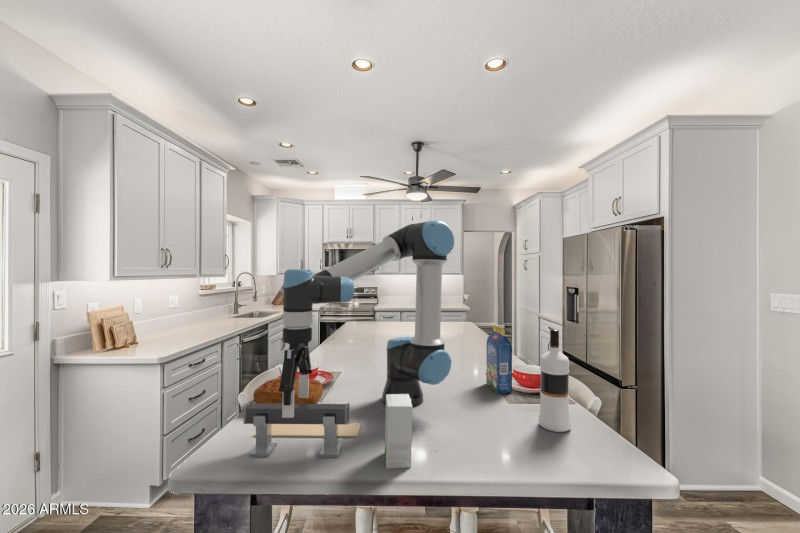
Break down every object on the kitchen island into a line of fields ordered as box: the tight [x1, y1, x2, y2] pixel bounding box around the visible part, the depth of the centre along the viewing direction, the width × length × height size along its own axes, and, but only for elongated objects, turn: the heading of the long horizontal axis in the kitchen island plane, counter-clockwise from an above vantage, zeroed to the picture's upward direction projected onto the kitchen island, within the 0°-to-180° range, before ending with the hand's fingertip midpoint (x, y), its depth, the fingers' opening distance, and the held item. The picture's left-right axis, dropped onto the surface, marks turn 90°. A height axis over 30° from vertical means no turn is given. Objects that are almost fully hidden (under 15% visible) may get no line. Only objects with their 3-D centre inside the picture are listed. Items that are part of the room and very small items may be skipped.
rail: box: [243, 402, 350, 425], centre depth 96 cm, size 27×4×4 cm, turn 89°
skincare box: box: [384, 394, 414, 470], centre depth 92 cm, size 8×7×16 cm
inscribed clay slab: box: [252, 377, 324, 404], centre depth 128 cm, size 22×17×8 cm
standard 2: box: [318, 416, 343, 458], centre depth 96 cm, size 5×6×10 cm
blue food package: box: [485, 324, 513, 394], centre depth 146 cm, size 6×12×25 cm, turn 6°
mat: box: [253, 423, 361, 438], centre depth 108 cm, size 30×8×1 cm, turn 89°
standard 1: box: [249, 415, 278, 458], centre depth 96 cm, size 5×6×10 cm
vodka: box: [537, 328, 572, 433], centre depth 111 cm, size 9×9×30 cm
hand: (296, 406), depth 96 cm, fingers open, 13 cm apart
